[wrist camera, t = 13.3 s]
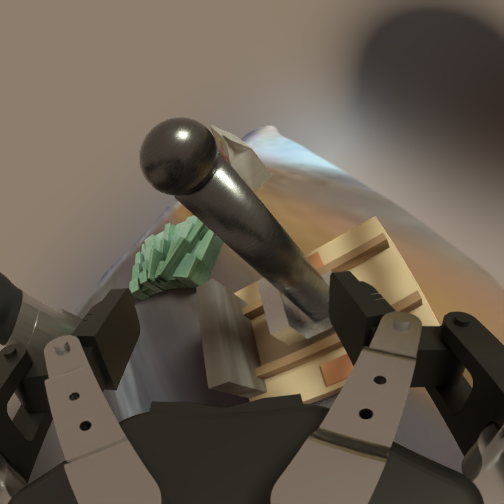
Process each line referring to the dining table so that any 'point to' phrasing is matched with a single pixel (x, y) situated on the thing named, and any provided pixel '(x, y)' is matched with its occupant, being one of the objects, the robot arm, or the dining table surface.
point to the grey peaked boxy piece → (241, 158)
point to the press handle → (239, 226)
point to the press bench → (306, 352)
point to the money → (175, 258)
